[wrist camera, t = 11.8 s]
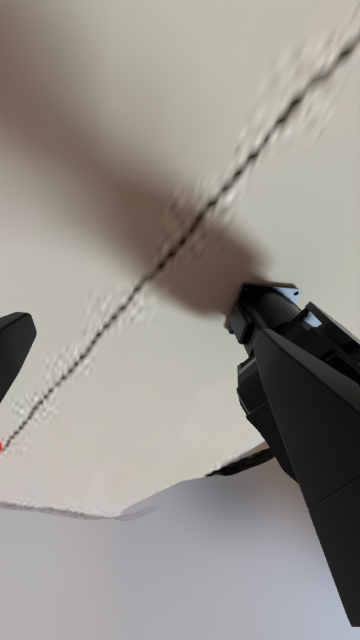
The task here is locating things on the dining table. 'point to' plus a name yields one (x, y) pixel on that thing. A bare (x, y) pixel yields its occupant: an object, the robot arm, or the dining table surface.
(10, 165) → the dining table surface
